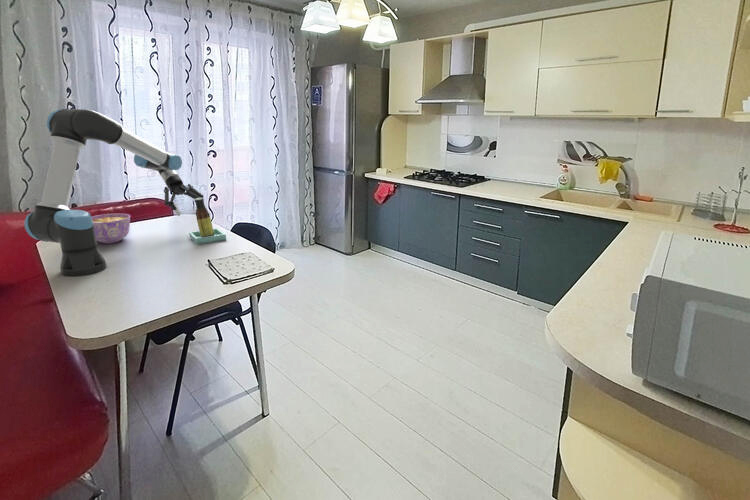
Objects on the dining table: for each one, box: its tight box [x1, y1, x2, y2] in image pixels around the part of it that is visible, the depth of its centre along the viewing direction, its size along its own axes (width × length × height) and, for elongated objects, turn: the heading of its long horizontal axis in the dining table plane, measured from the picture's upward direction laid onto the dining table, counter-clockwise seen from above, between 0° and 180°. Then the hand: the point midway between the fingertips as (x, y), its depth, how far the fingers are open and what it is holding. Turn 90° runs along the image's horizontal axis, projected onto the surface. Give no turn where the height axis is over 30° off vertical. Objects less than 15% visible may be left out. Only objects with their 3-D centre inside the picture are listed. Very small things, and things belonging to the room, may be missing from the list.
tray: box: [188, 228, 227, 245], centre depth 211 cm, size 14×14×3 cm
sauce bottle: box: [194, 197, 214, 237], centre depth 207 cm, size 7×6×20 cm
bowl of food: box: [91, 213, 131, 245], centre depth 205 cm, size 20×20×12 cm
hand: (192, 212), depth 214 cm, fingers open, 13 cm apart
